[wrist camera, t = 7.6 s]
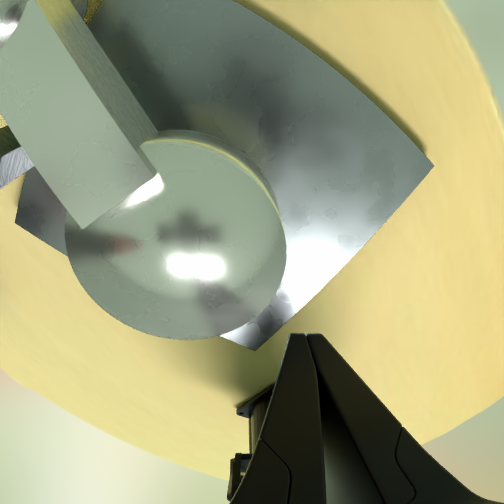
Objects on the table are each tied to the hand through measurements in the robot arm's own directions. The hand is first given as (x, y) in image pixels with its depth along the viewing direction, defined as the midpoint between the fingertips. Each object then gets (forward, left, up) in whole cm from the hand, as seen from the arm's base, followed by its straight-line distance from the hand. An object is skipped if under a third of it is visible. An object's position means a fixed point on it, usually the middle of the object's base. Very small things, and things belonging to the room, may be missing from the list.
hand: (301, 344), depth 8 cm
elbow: (-1, +8, -9) cm, 12 cm away
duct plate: (-2, +5, -11) cm, 12 cm away
